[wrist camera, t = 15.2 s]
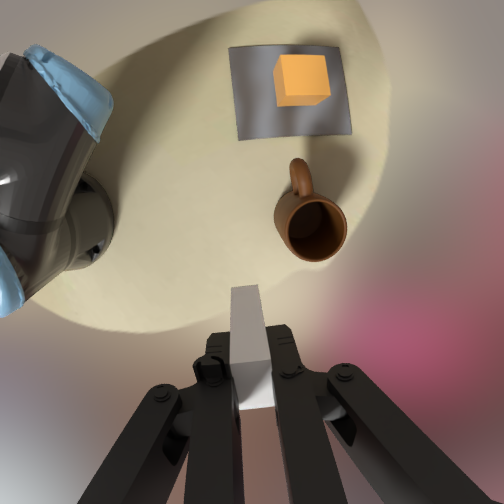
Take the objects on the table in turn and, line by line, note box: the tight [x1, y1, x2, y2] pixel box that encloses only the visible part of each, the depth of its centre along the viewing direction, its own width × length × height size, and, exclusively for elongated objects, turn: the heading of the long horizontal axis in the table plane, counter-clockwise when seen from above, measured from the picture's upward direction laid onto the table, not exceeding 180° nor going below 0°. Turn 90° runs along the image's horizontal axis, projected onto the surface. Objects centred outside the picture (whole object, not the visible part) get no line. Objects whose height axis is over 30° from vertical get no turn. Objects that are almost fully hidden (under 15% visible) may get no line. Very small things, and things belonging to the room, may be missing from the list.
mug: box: [274, 158, 347, 262], centre depth 34 cm, size 12×8×9 cm, turn 15°
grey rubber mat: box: [228, 45, 352, 141], centre depth 30 cm, size 16×14×7 cm
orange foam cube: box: [273, 55, 331, 107], centre depth 29 cm, size 5×5×7 cm
